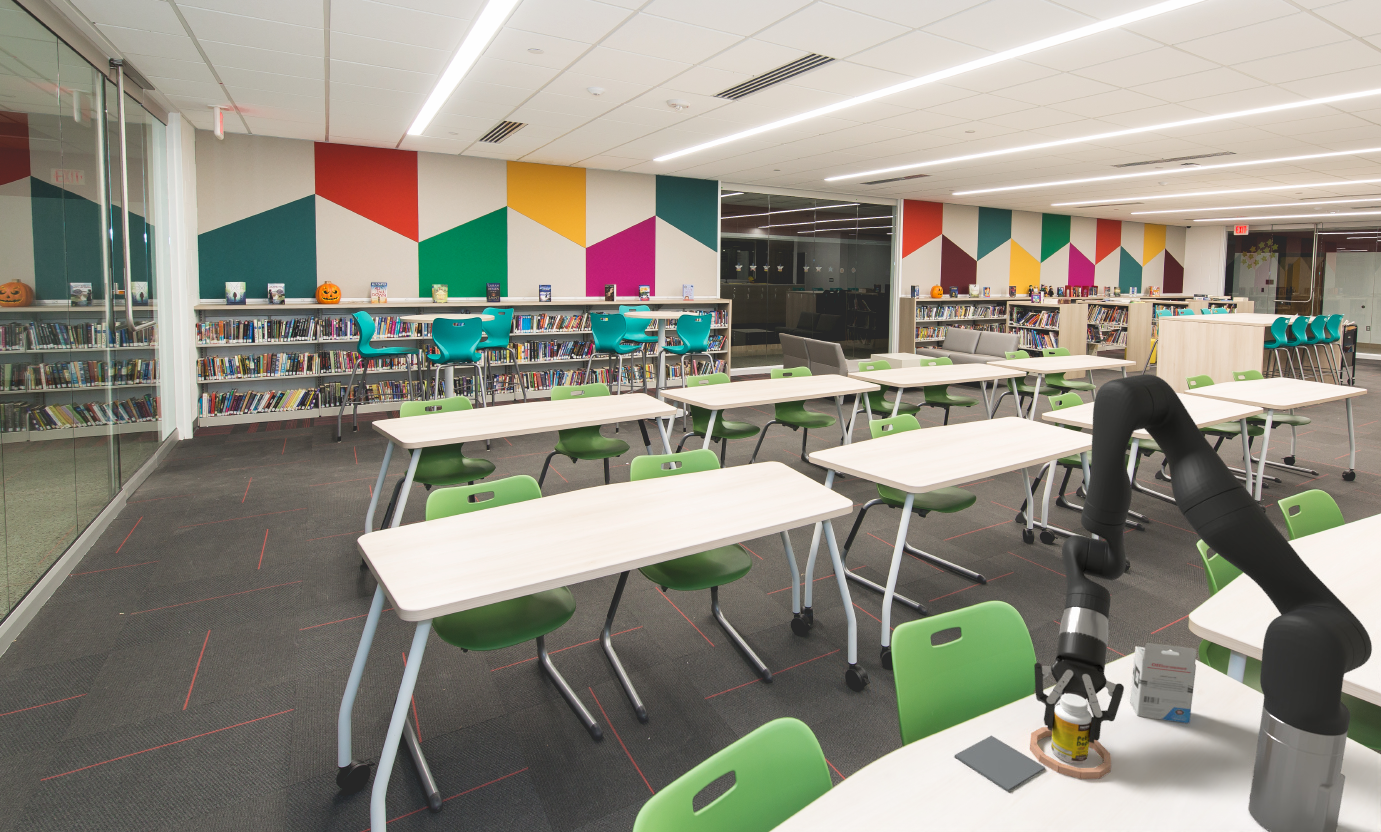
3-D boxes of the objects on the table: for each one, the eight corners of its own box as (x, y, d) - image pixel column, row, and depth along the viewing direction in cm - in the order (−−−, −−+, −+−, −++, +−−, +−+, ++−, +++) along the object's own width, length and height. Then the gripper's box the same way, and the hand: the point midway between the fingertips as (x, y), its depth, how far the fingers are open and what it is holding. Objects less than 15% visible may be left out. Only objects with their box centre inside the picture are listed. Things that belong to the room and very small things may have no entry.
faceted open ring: (1124, 761, 117) (1125, 755, 116) (1084, 788, 110) (1085, 781, 110) (1055, 725, 127) (1056, 719, 126) (1015, 747, 120) (1015, 741, 120)
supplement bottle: (1076, 769, 115) (1082, 713, 113) (1044, 752, 119) (1048, 697, 118) (1094, 757, 118) (1099, 702, 116) (1062, 740, 122) (1066, 687, 121)
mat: (1045, 769, 115) (1045, 767, 115) (1007, 791, 110) (1008, 789, 110) (991, 737, 123) (991, 735, 123) (954, 757, 118) (954, 754, 118)
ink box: (1180, 709, 131) (1189, 636, 129) (1190, 724, 127) (1199, 649, 124) (1128, 702, 134) (1136, 630, 131) (1136, 716, 129) (1144, 642, 127)
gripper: (1037, 621, 125) (1022, 715, 118) (1131, 642, 118) (1121, 744, 110) (1039, 636, 131) (1024, 727, 123) (1129, 658, 123) (1119, 756, 115)
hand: (1070, 734), depth 116 cm, fingers closed on supplement bottle, 5 cm apart
